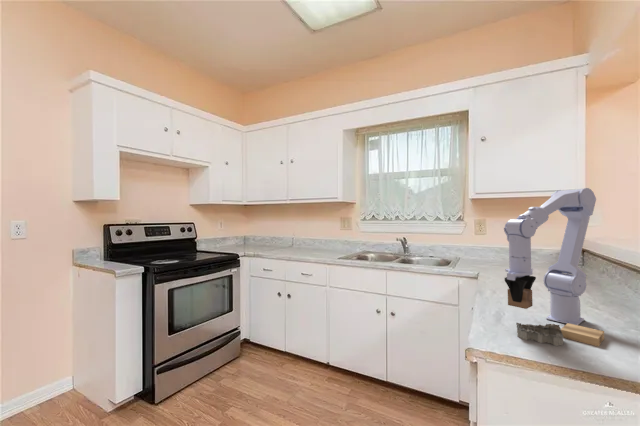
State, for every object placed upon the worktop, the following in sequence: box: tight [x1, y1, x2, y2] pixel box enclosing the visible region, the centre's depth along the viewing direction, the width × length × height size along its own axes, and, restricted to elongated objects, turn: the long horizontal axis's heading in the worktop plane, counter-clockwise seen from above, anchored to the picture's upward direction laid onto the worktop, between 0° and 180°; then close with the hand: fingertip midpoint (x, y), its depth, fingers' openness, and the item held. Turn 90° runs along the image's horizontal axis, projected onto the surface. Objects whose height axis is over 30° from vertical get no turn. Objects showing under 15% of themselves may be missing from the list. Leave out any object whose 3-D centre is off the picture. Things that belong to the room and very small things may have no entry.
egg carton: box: [515, 322, 565, 347], centre depth 82 cm, size 11×8×4 cm
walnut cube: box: [507, 288, 533, 310], centre depth 91 cm, size 5×5×5 cm
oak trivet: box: [560, 323, 605, 347], centre depth 82 cm, size 8×8×2 cm
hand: (520, 300), depth 91 cm, fingers closed on walnut cube, 5 cm apart
